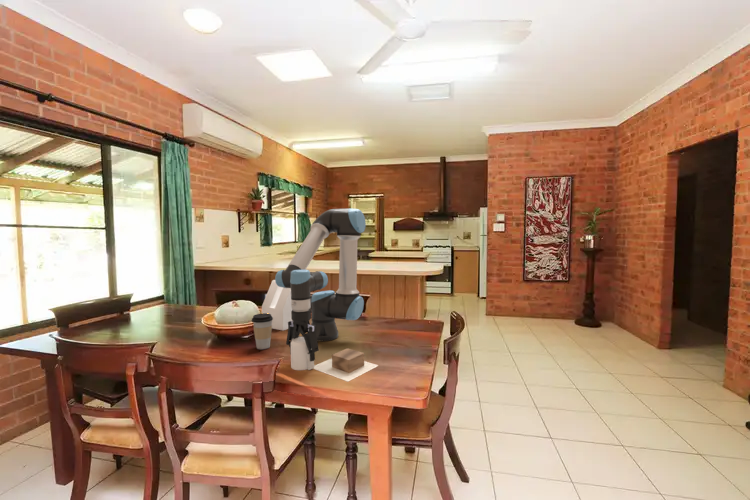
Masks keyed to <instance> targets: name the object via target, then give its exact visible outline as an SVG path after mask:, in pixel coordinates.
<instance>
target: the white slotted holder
mask: <svg viewBox="0 0 750 500" xmlns="http://www.w3.org/2000/svg"><path fill="white" fill-rule="evenodd" d="M270 283H271V284H270V285H269V288H268V290H267V293H266V295H265V297H264V300H263V303H262V305H261V314H262V313H269V314H271V316H272V317H273V320H272V330H280V331H286V330H288V322H290V321H293V320H292V319H291V311H292V309H291V288H283V287H279V286H278V285H277V284H276V282H275V279H273V280H271V282H270Z"/></svg>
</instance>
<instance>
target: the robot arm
mask: <svg viewBox="0 0 750 500" xmlns="http://www.w3.org/2000/svg"><path fill="white" fill-rule="evenodd" d="M366 226H367V224H366V216H365V215H364V213H363V212H362V210H360V209H358V208H352V207H351V208H332V209H328V210H326V211H323V212H322V213H321V214H320V215H319V216H318V217H316V219H314V221H313V222H312V224H311V225H310V230H309V232H308V234H307V236H306V237H305V239H304V240H303V242H302V244H301V245H300V246H299V248H298V249H297V251H296V253H295V254H294V256H293V257H292V259H291V261H290V262H289V264H288V266H286V268H285V269H281V270H278V271H277V272H276V274H275V276H274V277H275V278H274V280H275V282H276V284H277V285H278V286H279V287H283V288H291V309H292V311H291V319H292V320H293V321H290V322H288V329H287V335H286V343H285V344H286V345H287V346H289V349H290V350H289V351H290V352H289V353H290V355H291V341H292V339H293V338H294V339H295V338H298V337H299V336H303V337H304V339H305V342H306V345H307V348H308V351H309V352H308V353H307V362H308V369H307V371H310V370H314V369H313V368H314V366H315V360H316V353H317V352H319V349H320V348H319V344H318V342H328V341H329V342H330V341H333V340H336V339H337V338H338V337H339V330H338V326H337V324H336V319H339V320H347V321H356V320H358V319H359V318H360V317H361V315H362V313H363V310H364V305H365V301H364V298H363V297H362V296H360V291H359V290H358V289H357V283H358V282H357V281H358V280H357V279H358V277H357V275H358V273H357V271H358V240H359V239H360V238H361V236H362V235H361V234H362V233H364V232H365V230H366ZM332 233H336V238H338V239H339V263H338V264H339V269H338V289H337V290H336V291H334V290H330V289H329V290H322V289H324V288H326V286H328V283H329V278H328V275H327V274H326V273H325V271H320V270H319V271H310V270H309V269H307V268H308V267H309V265H310V263H311V261H312V260H313V258H314V256H316V253H317V252H318V250H319V248H320V247H321V244H322V243H323V241H324V240H325V239H326V238H328V237H329V235H330V234H332ZM319 290H320V291H319ZM321 290H322V291H321ZM314 291H315V292H314ZM317 291H318V292H317ZM311 292H312V293H313V292H314V293H313V294H311ZM310 320H311V323H310ZM311 349H312V350H311Z"/></svg>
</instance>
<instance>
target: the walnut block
mask: <svg viewBox="0 0 750 500" xmlns="http://www.w3.org/2000/svg"><path fill="white" fill-rule="evenodd" d="M331 358H332V367H333V368H336V369H339V370H342V371H344V372H347V373H350V372H352V371H354V370H356V369H358V368H360V367H362V366H364V361H365V352H361V351H358V350H354V349H351V348H348V347H347V348H345V349H342V350H340V351H338V352H335V353H333V354H332V353H331Z"/></svg>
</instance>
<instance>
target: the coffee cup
mask: <svg viewBox="0 0 750 500" xmlns="http://www.w3.org/2000/svg"><path fill="white" fill-rule="evenodd" d="M272 320H273V317H272V316H271V314H267V313H263V314H262V313H257V314H254V315H253V317H252V318H251V322H252V325H253V335H254V339H255V340H254V341H255V345H256V346H255V347H256V349H257V350H267V349H270V348H271V347H270V346H271V338H272V330H273V329H272Z"/></svg>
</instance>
